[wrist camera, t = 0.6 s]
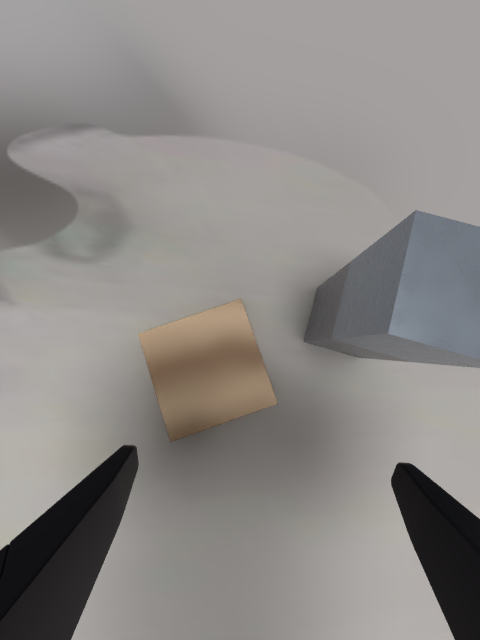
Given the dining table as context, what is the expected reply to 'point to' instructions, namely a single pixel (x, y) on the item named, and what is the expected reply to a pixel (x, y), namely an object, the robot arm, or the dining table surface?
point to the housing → (406, 297)
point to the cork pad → (206, 370)
